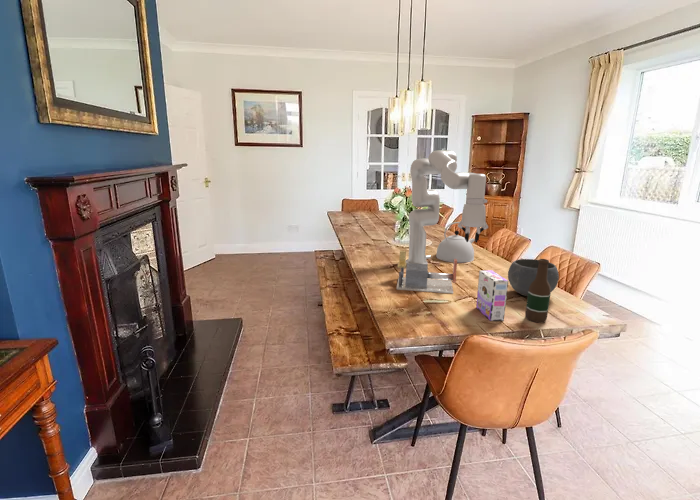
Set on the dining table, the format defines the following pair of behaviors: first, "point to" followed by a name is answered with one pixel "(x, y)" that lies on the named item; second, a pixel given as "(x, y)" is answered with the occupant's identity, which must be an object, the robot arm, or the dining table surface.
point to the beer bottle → (539, 295)
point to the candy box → (492, 295)
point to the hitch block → (421, 280)
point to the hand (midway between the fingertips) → (471, 241)
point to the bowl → (529, 275)
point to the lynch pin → (444, 274)
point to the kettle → (455, 248)
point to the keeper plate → (402, 260)
